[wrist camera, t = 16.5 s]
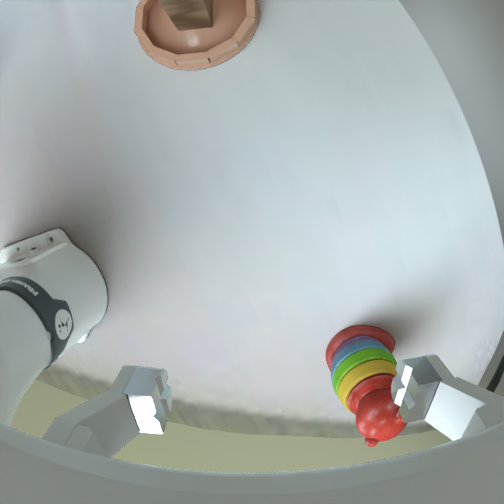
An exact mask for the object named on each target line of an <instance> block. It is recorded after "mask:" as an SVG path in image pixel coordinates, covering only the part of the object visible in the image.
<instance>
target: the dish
mask: <svg viewBox="0 0 504 504" xmlns="http://www.w3.org/2000/svg"><path fill="white" fill-rule="evenodd" d="M258 17H259V10H258V4H257V0H213V27H211V28H200V29H192V30H184V31H178V30H177V28H176V27H175V25H174V24H173V22H172V21H171V19H170V18H169V16H168V15H167V13H166V12H165V10H164V9H163V7H162V6H161V4H160V3H159V1H158V0H141V1H140V2H139V4H138V5H137V7H136V15H135V27H134V31H135V33H136V35H137V36H138V39H139V42H140V44H141V46H142V48H143V49H144V51H145V52H146V53H147V54H148V55H149V56H150V57H151V58H152V59H153V60H155V61H156V62H158V63H160V64H162V65H164V66H166V67H169V68H172V69H177V70H187V71H189V70H201V69H206V68H210V67H213V66H216V65H219V64H221V63H223V62H225V61H227V60H229V59H231V58H232V57H234V56H235V55H236V54H238V53H239V52H240V51H241V50H242V49H243V48H244V47H245V46H246V45H247V44H248V43H249V41H250V40H251V38H252V37H253V35H254V33H255V30H256V28H257V24H258Z"/></svg>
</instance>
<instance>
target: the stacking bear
mask: <svg viewBox="0 0 504 504" xmlns="http://www.w3.org/2000/svg"><path fill="white" fill-rule="evenodd" d="M394 346H395V341H394V339H393V337H392V336H391V335H390V334H389V333H387V332H386V331H384V330H382V329H379V328H376V327H372V326H353V327H350V328H347V329H345V330H343V331H341V332H340V333H338V334H337V335H336V336H335V337H334V338H333V339H332V340H331V342H330V343H329V345H328V347H327V350H326V361H327V364H328V367H329V369H330V371H331V379H332V384H333V388H334V390H335V393H336V394H337V396H338V398H339V399H340V400H341V402H342V404H343V405H344V406H345V408H346V409H347V410H349V411H350V412H352V413H354V414H355V415H356V425H357V428H358V430H359V432H360V433H361V434H362V435H363V436H364V437H365V438H366V439H365V441H366V444H367V445H368V446H369V447H374V446H376V445H377V443H378V442H379V441H386V440H389V439H392V438H393V437H395V436H397V435H398V434H399V433H400V432H401V431H402V430H403V429H404V428H405V426H406V424H407V423H408V422H407V423H404V421H403V419H402V417H401V415H400V413H399V408H400V406H399V405H398V404H396V403H394V401H393V398H392V394H391V384H392V380H393V378H394V377H395V376H396V375H397V374H398V373H397V371H396V365H397V362H396V360H395V358H394V356H393V355H392V354H391V353H392V352H393V350H394Z"/></svg>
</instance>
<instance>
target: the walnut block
mask: <svg viewBox="0 0 504 504" xmlns="http://www.w3.org/2000/svg"><path fill="white" fill-rule="evenodd" d="M158 1H159V3H160V4H161V6H162V7H163V9H164V10H165V12H166V13H167V15H168V16H169V18H170V19H171V21H172V22H173V24H174V25H175V27H176V28H177V30H178V31H184V30H192V29H200V28H211V27H213V0H158Z"/></svg>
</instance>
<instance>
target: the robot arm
mask: <svg viewBox="0 0 504 504" xmlns="http://www.w3.org/2000/svg"><path fill="white" fill-rule="evenodd" d="M51 237H52V238H53V240H52V238H51ZM106 308H107V290H106V285H105V282H104V279H103V277H102V275H101V273H100V271H99V269H98V268H97V266H96V265H95V263H94V262H93V261H92V260H91V258H90V257H89V256H88V255H86V254H85V253H84V252H83V251H81V250H80V249H79V248H77V247H76V246H75V245H73V244H72V243H71V241H70V240H69V238H68V237H67V235H66V234H65V233H64V231H63V230H61V229H59V228H57V229H54V230H51V231H48V232H45V233H42V234H39V235H37V236H34V237H31V238H28V239H26V240H23V241H20V242H17V243H15V244H12V245H10V246H7V247H5V248H4V249H2V250H1V254H0V504H504V397H502V396H499V395H497V394H495V393H493V392H490V391H488V390H486V389H483V388H481V387H479V386H477V385H474V384H472V383H470V382H467V381H465V380H463V379H461V378H458V377H457V378H454V376H453V375H452V374H451V372H450V371H449V370H448V369H447V367H446V366H445V365H444V363H443V362H442V361H441V360H440V358H439V357H438V356H437V355H435V354H431V355H426V356H422V357H417V358H410V359H404V360H399V361H398V363H397V365H396V371H397V373H398V374H397V375H396V376H395V377H394V378H393V380H392V384H391V394H392V398H393V401H394V403H396V404H398V405H399V406H400V408H399V413H400V415H401V417H402V419H403V421H404V423H407V422H412V421H417V420H422V419H425V421H426V422H428V423H429V424H431V425H432V426H433V427H435V428H436V429H438V430H439V431H440V432H442V433H443V434H444V435H446V436H447V437H449V438H450V439H451V440H453V441H451V442H449V443H445V444H442V445H439V446H436V447H432V448H428V449H425V450H421V451H418V452H414V453H410V454H406V455H402V456H397V457H393V458H388V459H383V460H378V461H373V462H368V463H362V464H355V465H349V466H342V467H334V468H326V469H316V470H305V471H290V472H268V473H233V472H211V471H196V470H185V469H175V468H167V467H160V466H152V465H145V464H140V463H134V462H128V461H123V460H118V459H113V458H111V457H112V456H113V455H115V454H116V453H117V452H118V451H119V450H121V449H122V448H123V447H124V446H125V445H127V444H128V443H129V442H130V441H131V440H132V439H134V438H135V437H136V436H137V435H138V434H139V433H140V432H145V433H154V434H163V432H164V429H165V426H166V423H167V419H166V414H168V413H169V412H170V409H171V404H172V393H171V388H170V387H169V386H168V385H167V384H166V383H167V380H168V375H167V371H166V370H165V369H164V368H153V367H144V366H133V365H124V366H123V367H122V369H121V371H120V372H119V374H118V376H117V377H116V379H115V381H114V383H113V385H112V386H111V388H110V390H109V392H103V393H101V394H99V395H98V396H96V397H94V398H92V399H90V400H88V401H86V402H84V403H83V404H81V405H79V406H77V407H75V408H73V409H71V410H69V411H67V412H66V413H64V414H62V415H60V416H58V417H56V418H55V419H54V421H53V422H52V424H51V425H50V427H49V428H48V430H47V431H46V433H45V435H44V436H43V438H42V439H41V438H38V437H35V436H32V435H30V434H27V433H24V432H22V431H19V430H16V429H14V428H12V427H10V425H11V422H12V419H13V416H14V413H15V410H16V407H17V405H18V404H19V402H20V400H21V398H22V397H23V395H24V394H25V392H26V391H27V389H28V388H29V386H30V385H31V384H32V382H33V381H34V380H35V379H36V377H37V376H38V375H39V374H40V372H41V371H42V370H44V369H47V368H48V367H49V366H51V364H53V363H54V362H55V361H56V360H57V359H58V357H60V356H62V355H63V354H64V353H65V352H67V351H68V350H69V349H70V348H71V347H72V346H73V345H74V344H75V343H77V342H80V343H81V342H83V341H84V340H86V338H87V337H88V334H89V332H90V329H91V328H92V327H94V326H95V325H96V324H98V323H99V322H100V321H101V319H102V318H103V316H104V314H105V312H106Z"/></svg>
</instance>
